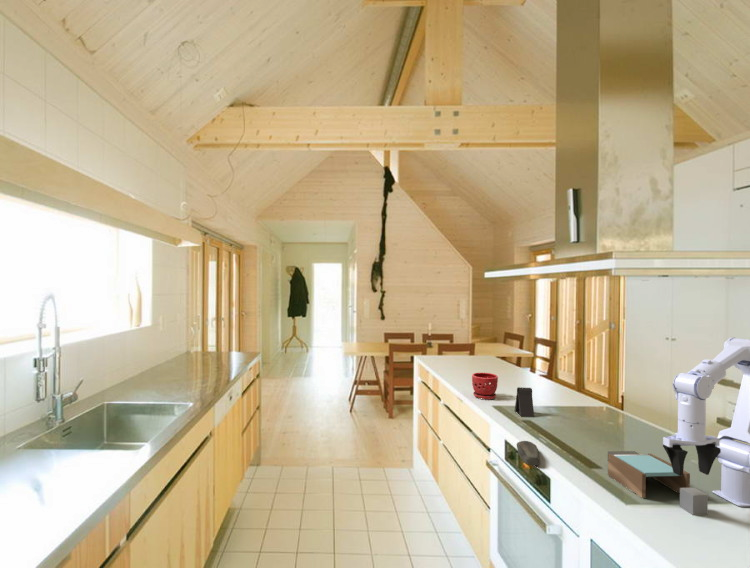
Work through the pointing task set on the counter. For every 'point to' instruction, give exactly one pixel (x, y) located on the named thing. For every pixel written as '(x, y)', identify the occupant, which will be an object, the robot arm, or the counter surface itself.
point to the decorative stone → (528, 452)
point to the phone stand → (524, 402)
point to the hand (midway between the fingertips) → (691, 473)
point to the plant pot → (484, 385)
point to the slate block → (694, 501)
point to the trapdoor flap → (644, 463)
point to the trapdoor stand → (643, 476)
